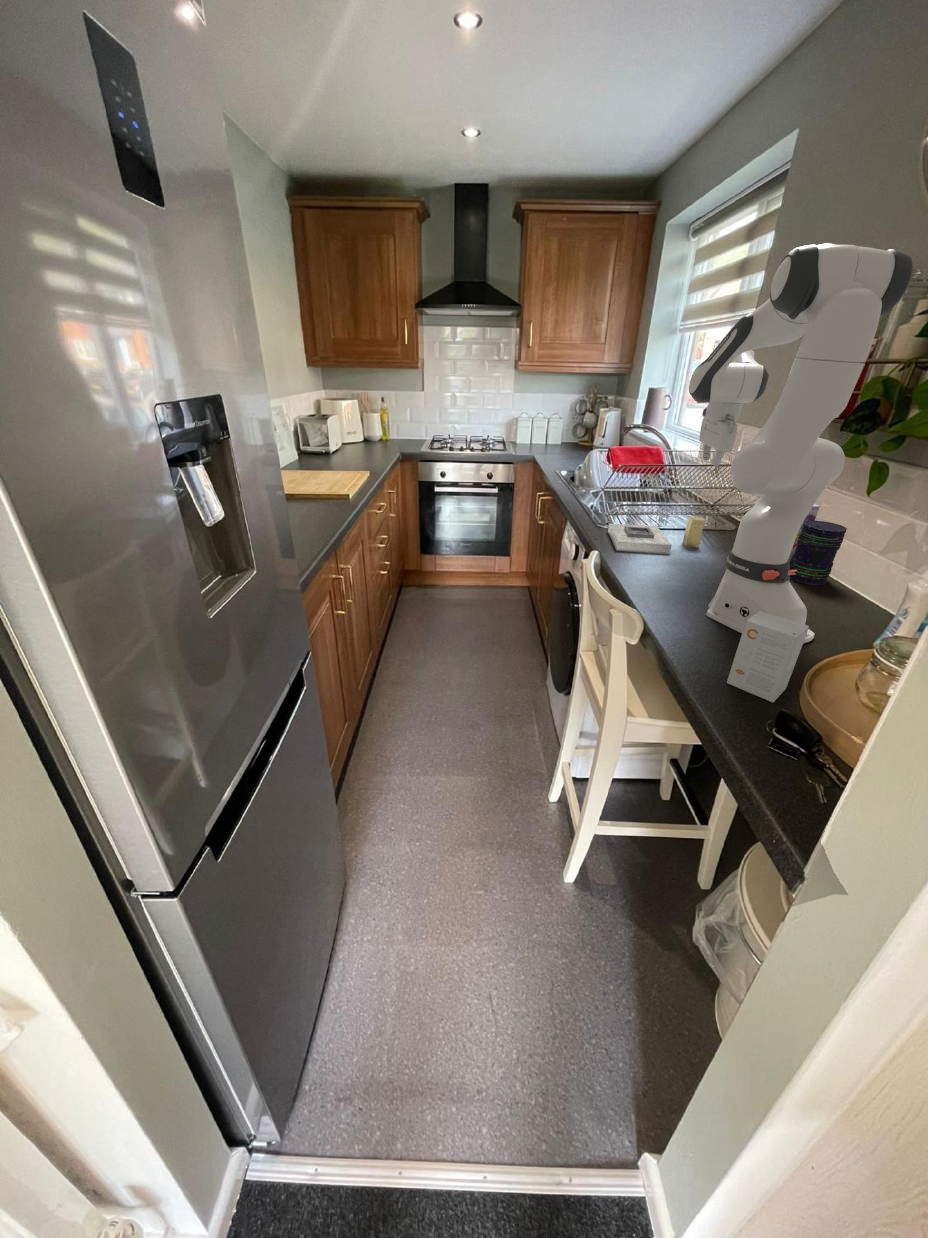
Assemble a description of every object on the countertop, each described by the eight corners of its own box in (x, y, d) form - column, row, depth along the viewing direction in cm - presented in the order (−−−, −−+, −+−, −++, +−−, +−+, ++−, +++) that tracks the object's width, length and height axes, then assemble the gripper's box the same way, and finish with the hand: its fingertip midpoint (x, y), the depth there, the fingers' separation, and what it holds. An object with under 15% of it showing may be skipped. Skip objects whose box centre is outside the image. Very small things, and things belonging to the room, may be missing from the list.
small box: (785, 689, 88) (811, 625, 82) (773, 704, 84) (798, 637, 78) (739, 670, 94) (759, 609, 88) (725, 683, 90) (745, 619, 84)
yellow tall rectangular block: (698, 547, 158) (705, 520, 154) (685, 546, 159) (692, 519, 155) (695, 543, 162) (701, 516, 158) (682, 543, 162) (688, 516, 158)
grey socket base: (669, 554, 152) (672, 541, 150) (616, 550, 154) (618, 538, 152) (655, 534, 170) (657, 523, 168) (607, 531, 171) (609, 520, 170)
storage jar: (802, 569, 143) (820, 519, 136) (835, 582, 135) (856, 529, 128) (777, 573, 140) (794, 521, 133) (809, 586, 132) (829, 532, 125)
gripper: (748, 417, 132) (733, 469, 139) (722, 410, 150) (710, 457, 157) (723, 416, 133) (710, 468, 140) (701, 409, 151) (690, 456, 157)
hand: (710, 462), depth 148 cm, fingers open, 8 cm apart
